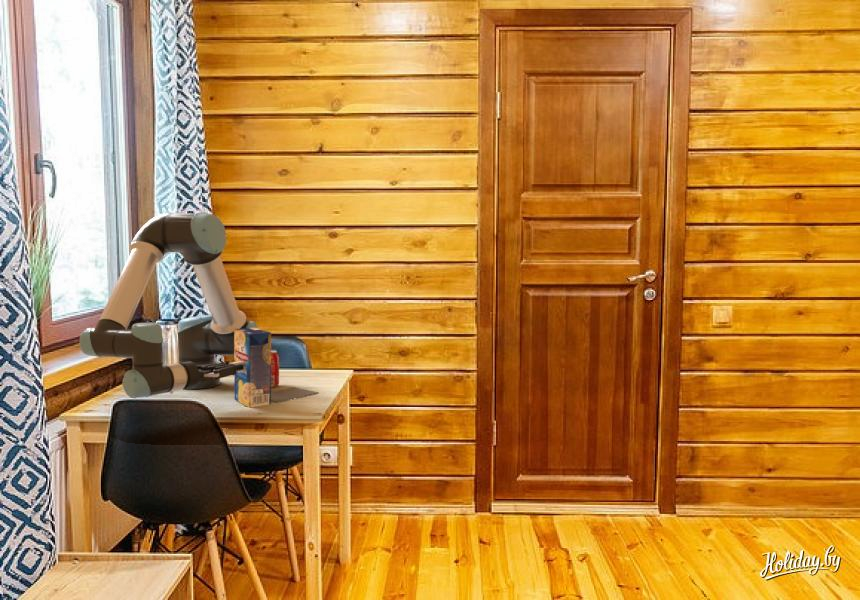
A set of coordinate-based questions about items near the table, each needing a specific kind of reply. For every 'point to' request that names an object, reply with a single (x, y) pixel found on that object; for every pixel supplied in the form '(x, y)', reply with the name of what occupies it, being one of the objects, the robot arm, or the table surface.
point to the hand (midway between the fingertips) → (249, 364)
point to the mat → (289, 394)
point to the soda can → (274, 368)
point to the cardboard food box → (253, 366)
